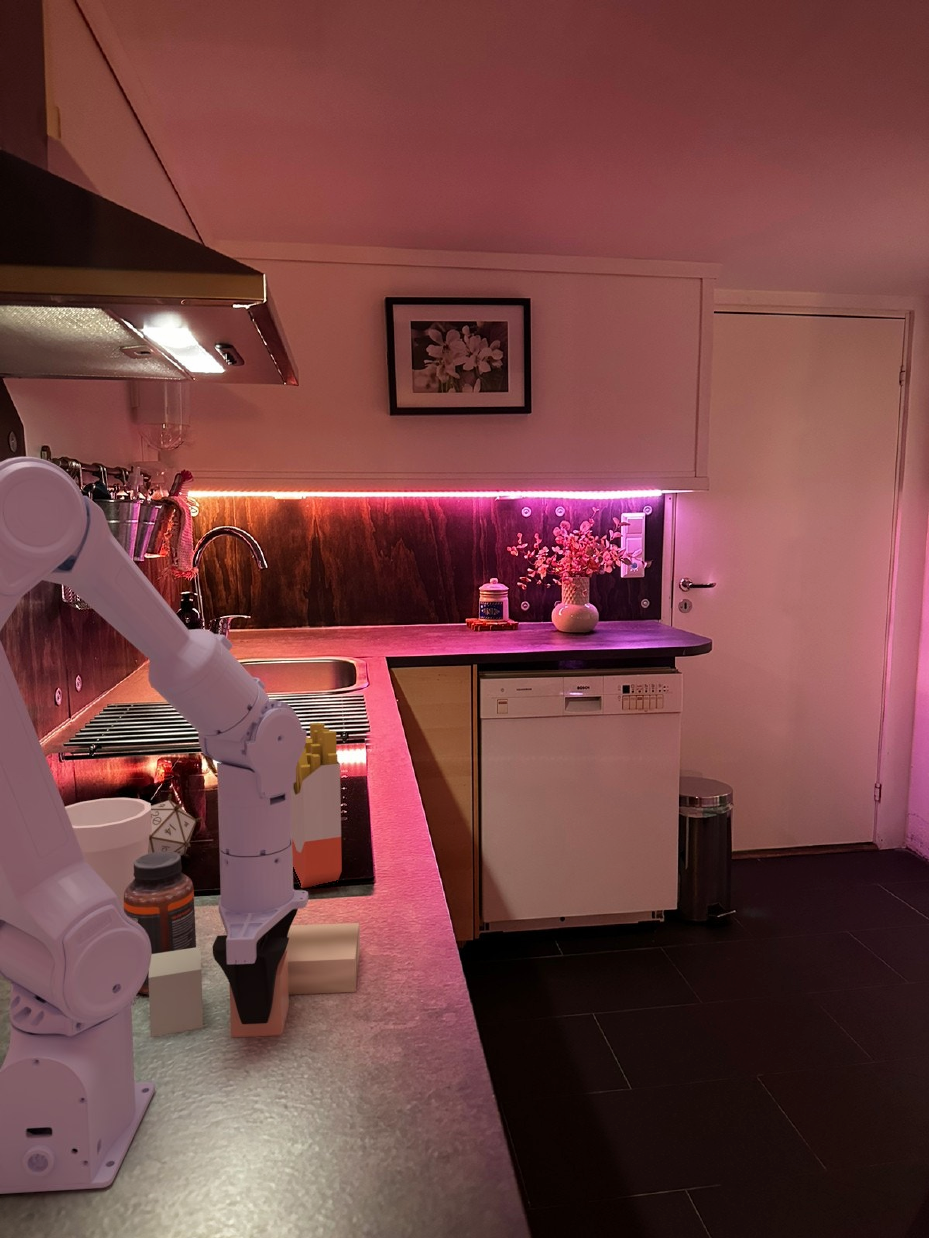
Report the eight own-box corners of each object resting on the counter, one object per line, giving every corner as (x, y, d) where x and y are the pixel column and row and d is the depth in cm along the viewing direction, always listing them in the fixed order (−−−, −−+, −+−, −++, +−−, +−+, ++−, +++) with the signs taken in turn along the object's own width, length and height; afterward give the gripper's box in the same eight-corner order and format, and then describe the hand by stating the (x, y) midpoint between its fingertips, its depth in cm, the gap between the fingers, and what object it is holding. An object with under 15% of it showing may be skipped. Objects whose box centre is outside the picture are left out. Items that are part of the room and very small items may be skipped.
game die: (180, 892, 102) (213, 838, 98) (110, 882, 98) (141, 825, 94) (181, 837, 109) (211, 785, 106) (115, 825, 105) (145, 770, 101)
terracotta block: (281, 1034, 66) (280, 975, 65) (231, 1037, 66) (229, 977, 65) (288, 1007, 70) (287, 950, 69) (240, 1009, 70) (239, 952, 69)
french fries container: (302, 898, 92) (298, 739, 90) (286, 863, 102) (282, 720, 100) (342, 891, 93) (340, 735, 92) (322, 858, 103) (320, 717, 102)
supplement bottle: (205, 962, 77) (201, 845, 76) (186, 997, 71) (181, 870, 70) (141, 964, 77) (136, 846, 76) (116, 998, 71) (111, 871, 70)
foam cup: (165, 915, 88) (160, 795, 86) (144, 957, 78) (139, 824, 77) (70, 921, 86) (64, 800, 85) (38, 965, 77) (32, 830, 76)
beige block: (203, 1028, 67) (201, 968, 67) (150, 1037, 66) (148, 977, 65) (201, 1002, 71) (200, 946, 70) (152, 1011, 69) (150, 954, 69)
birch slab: (355, 991, 72) (354, 958, 72) (274, 995, 72) (273, 962, 71) (359, 952, 79) (359, 922, 79) (286, 955, 79) (285, 925, 78)
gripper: (294, 878, 59) (298, 1056, 61) (315, 814, 74) (318, 959, 75) (194, 881, 59) (200, 1061, 60) (236, 816, 73) (240, 962, 75)
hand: (260, 1005), depth 68 cm, fingers closed on terracotta block, 4 cm apart
